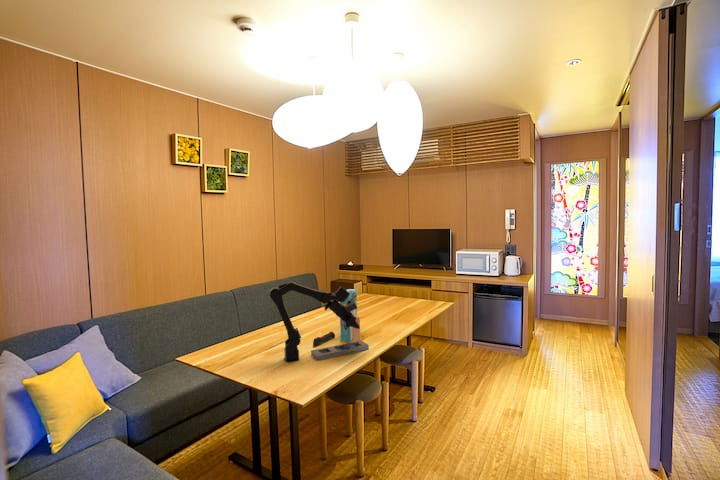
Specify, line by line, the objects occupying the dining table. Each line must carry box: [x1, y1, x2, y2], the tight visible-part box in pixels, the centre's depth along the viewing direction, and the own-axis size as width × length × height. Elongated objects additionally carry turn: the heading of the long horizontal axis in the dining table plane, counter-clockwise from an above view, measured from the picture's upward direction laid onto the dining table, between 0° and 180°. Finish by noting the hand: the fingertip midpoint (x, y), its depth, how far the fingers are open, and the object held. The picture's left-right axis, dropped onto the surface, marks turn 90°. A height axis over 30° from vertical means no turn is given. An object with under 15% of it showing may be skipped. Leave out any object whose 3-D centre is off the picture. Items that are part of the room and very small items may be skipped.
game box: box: [338, 288, 358, 343], centre depth 230 cm, size 20×6×27 cm, turn 168°
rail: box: [310, 340, 370, 361], centre depth 204 cm, size 30×9×2 cm, turn 117°
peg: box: [352, 314, 361, 342], centre depth 204 cm, size 4×4×13 cm
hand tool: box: [312, 331, 336, 348], centre depth 222 cm, size 19×4×5 cm, turn 147°
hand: (358, 326), depth 204 cm, fingers closed on peg, 3 cm apart
